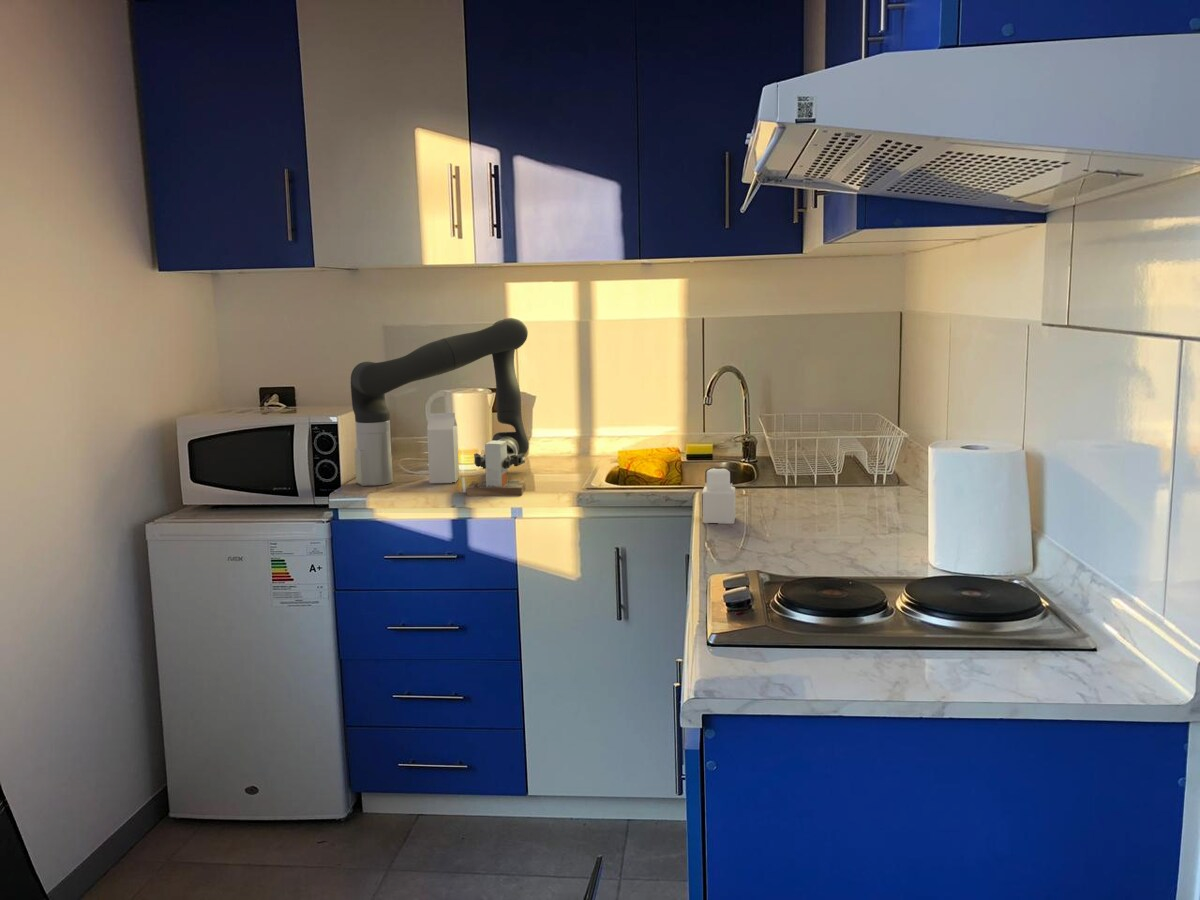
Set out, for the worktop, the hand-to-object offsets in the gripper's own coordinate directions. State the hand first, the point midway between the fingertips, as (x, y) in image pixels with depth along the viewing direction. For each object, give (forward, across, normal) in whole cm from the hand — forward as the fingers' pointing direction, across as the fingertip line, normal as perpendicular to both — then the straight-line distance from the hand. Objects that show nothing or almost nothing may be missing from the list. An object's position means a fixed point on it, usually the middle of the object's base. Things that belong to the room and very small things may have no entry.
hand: (494, 464), depth 270 cm
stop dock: (-7, 0, +8) cm, 10 cm away
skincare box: (-3, 0, +7) cm, 7 cm away
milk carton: (-18, -17, +8) cm, 26 cm away
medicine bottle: (+33, +55, +8) cm, 65 cm away
